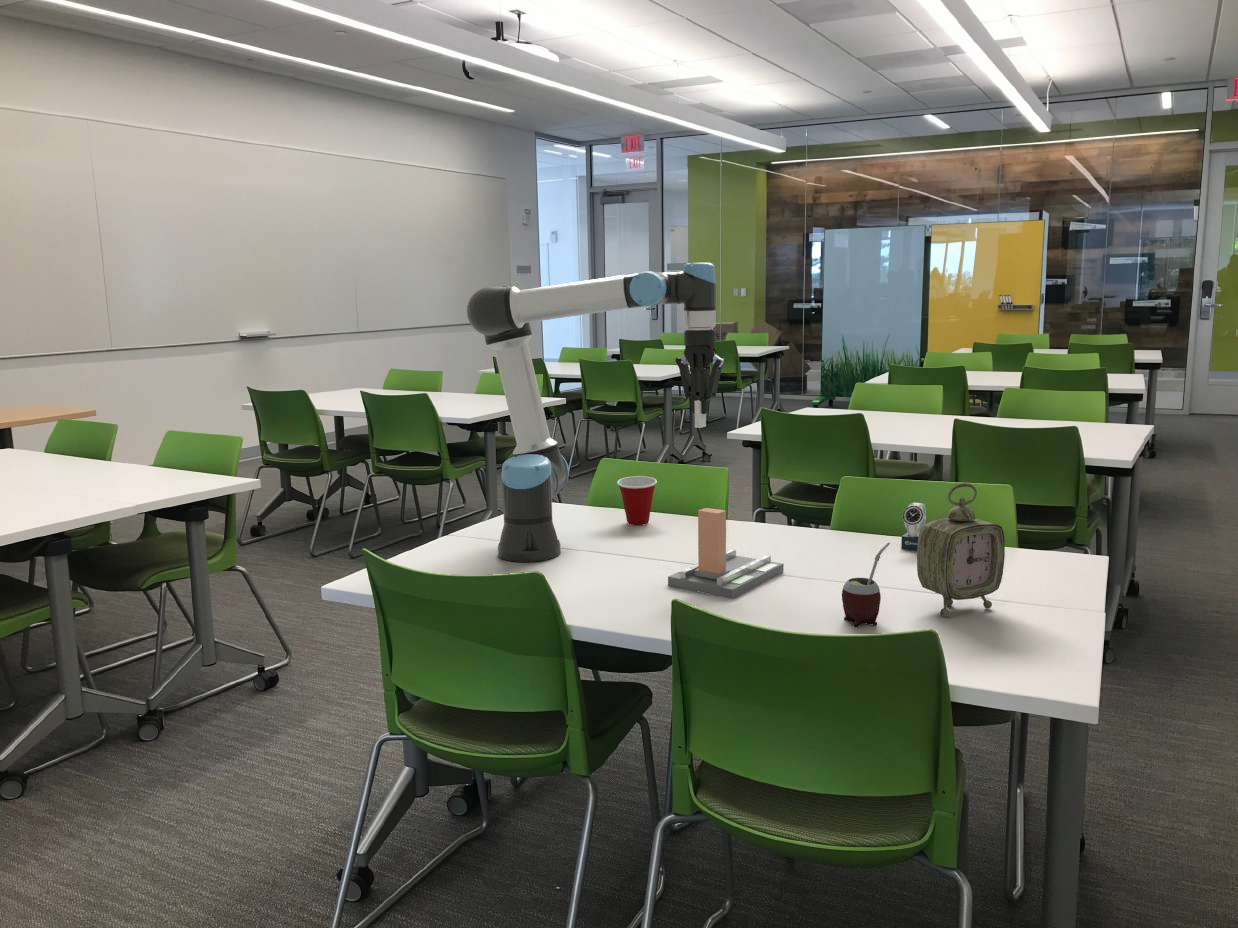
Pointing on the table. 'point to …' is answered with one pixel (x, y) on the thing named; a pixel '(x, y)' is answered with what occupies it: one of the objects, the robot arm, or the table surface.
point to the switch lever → (711, 543)
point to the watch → (913, 525)
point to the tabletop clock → (961, 555)
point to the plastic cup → (637, 498)
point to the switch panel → (729, 576)
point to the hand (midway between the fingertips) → (700, 426)
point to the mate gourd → (862, 597)
